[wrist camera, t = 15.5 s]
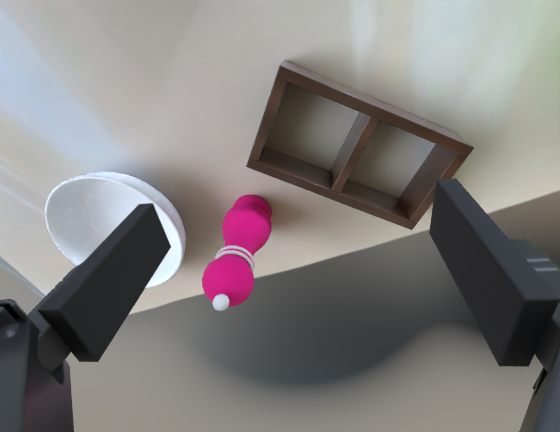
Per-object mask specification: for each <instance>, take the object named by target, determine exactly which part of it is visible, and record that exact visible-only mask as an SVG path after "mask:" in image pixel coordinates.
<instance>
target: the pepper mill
mask: <svg viewBox="0 0 560 432" xmlns="http://www.w3.org/2000/svg"><path fill="white" fill-rule="evenodd" d="M270 219H271V208H270V206H269V204H268V203H267V202H266V201H265V200H264V199H262V198H261V197H258V196H255V195H245V196H242V197H240V198H239V199H238V200H237V201H236V202H235V204H234V206H233V208H231V209H230V210H229V211H228V212H227V213H226V215H225V218H224V221H223V226H222V229H223V236H224V240H225V246H224V247H223V248H222V249H220V250H219V251H218V253H217V254H216V257H215V259H214V260H213V261H212V262H211V263H210V264H209V265H208V266H207V268H206V269H205V271H204V274H203V278H202V286H203V290H204V292H205V294H206V295H207V297H208V298H209V299H210V300H211V301H212V302H213V306H214V308H215V309H216V310H218V311H223V310H225V309H226V308H227V307H231V306H236V305H238V304H241V303H242V302H244V301H245V300H246V299H247V298H248V297H249V295H250V294H251V292H252V289H253V286H254V276H253V269H254V265H255V262H254V258H253V255H254V254H255V252H257V251H258V250H259V249H260V248H261V247H263V245H264V244H265V243H266V242H267V240H268V238H269V236H270V233H271V221H270Z"/></svg>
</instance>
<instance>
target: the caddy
mask: <svg viewBox="0 0 560 432" xmlns="http://www.w3.org/2000/svg"><path fill="white" fill-rule="evenodd" d="M287 82H290V83H292V84H295V85H297V86H299V87H302V88H304V89H306V90H309V91H311V92H314V93H316V94H318V95H321V96H323V97H326V98H328V99H330V100H333V101H335V102H338V103H340V104H342V105H345V106H347V107H349V108H352V109H354V110H357V111H359V112H360V113H359V115H358V117H357V119H356V121H355V123H354V125H353V126H352V128H351V130H350V132H349V134H348V136H347V138H346V140H345V142H344V144H343V146H342V148H341V150H340V152H339V154H338V156H337V158H336V160H335V162H334V164H333V166H332V168H331V170H330V171H327V170H324V169H322V168H319V167H317V166H314V165H312V164H309V163H307V162H304V161H301V160H299V159H296V158H294V157H291V156H289V155H286V154H284V153H281V152H279V151H276V150H273V149H271V148H268V147H266V146H265V144H266V141H267V139H268V136H269V133H270V130H271V127H272V124H273V122H274V119H275V116H276V113H277V110H278V108H279V105H280V102H281V99H282V96H283V94H284V91H285V88H286V85H287ZM379 120H381V121H383V122H385V123H388V124H390V125H393V126H395V127H397V128H400V129H402V130H404V131H407V132H409V133H412V134H414V135H416V136H419V137H421V138H424V139H426V140H428V141H431V142H433V143H436V145H435V146H434V148H433V149H432V151H431V152H430V154H429V155H428V157H427V158H426V160H425V161H424V163H423V164H422V166H421V167H420V169H419V170H418V172H417V173H416V174H415V176H414V177H413V179H412V180H411V182H410V183H409V185H408V186H407V188H406V189H405V191H404V192H403V194H402V195H401V197H400V198H399V199H398V198H396V197H393V196H391V195H388V194H386V193H383V192H380V191H378V190H375V189H373V188H370V187H368V186H365V185H363V184H360V183H358V182H355V181H352V180H350V179H348V177H349V176H350V174H351V172H352V170H353V168H354V166H355V165H356V163H357V161H358V159H359V157H360V155H361V154H362V152H363V150H364V148H365V146H366V144H367V143H368V141H369V139H370V137H371V135H372V134H373V132H374V130H375V128H376V126H377V124H378V123H379ZM473 149H474V147H473V146H472V145H470V144H469V143H468V142H466V141H465V140H464V139H463V138H461V137H460V136H459V135H457V134H456V133H455V132H453V131H451V130H448V129H446V128H444V127H441V126H439V125H437V124H434V123H432V122H430V121H427V120H425V119H423V118H420V117H418V116H416V115H413V114H411V113H408V112H406V111H404V110H401V109H399V108H397V107H394V106H392V105H390V104H387V103H385V102H383V101H380V100H378V99H376V98H373V97H371V96H369V95H366V94H364V93H362V92H359V91H357V90H354V89H352V88H350V87H347V86H345V85H343V84H340V83H338V82H336V81H333V80H331V79H329V78H326V77H324V76H322V75H319V74H317V73H315V72H312V71H310V70H307V69H305V68H303V67H300V66H298V65H296V64H293V63H291V62H289V61H286V60H285V61H284V62H283V63H282V64H281V65H280V67H279V70H278V73H277V76H276V79H275V82H274V85H273V88H272V91H271V94H270V97H269V100H268V103H267V106H266V109H265V112H264V115H263V118H262V121H261V124H260V127H259V130H258V133H257V136H256V139H255V142H254V145H253V148H252V151H251V154H250V157H249V160H248V163H247V166H246V167H249V168H251V169H254V170H256V171H259V172H262V173H264V174H267V175H269V176H272V177H275V178H277V179H280V180H282V181H285V182H288V183H290V184H293V185H296V186H298V187H301V188H303V189H306V190H309V191H311V192H314V193H316V194H319V195H322V196H324V197H327V198H330V199H332V200H335V201H337V202H340V203H343V204H345V205H348V206H350V207H353V208H356V209H358V210H361V211H364V212H366V213H369V214H371V215H374V216H377V217H379V218H382V219H384V220H387V221H390V222H392V223H395V224H397V225H400V226H403V227H405V228H408V229H411V230H412V229H413V228H414V227H415V225H416V224H417V223H418V221H419V220H420V219H421V217H422V216H423V215H424V213H425V212H426V211H427V209H428V208H429V207H430V205H431V204H432V203H433V202H434V195H435V188H436V180H443V179H451V178H452V176H453V175H454V174H455V172H456V171H457V170H458V168H459V167H460V166H461V165H462V163H463V162H464V161H465V159H466V158H467V156H468V155H469V154H470V153H471V151H472V150H473Z"/></svg>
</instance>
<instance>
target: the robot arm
mask: <svg viewBox="0 0 560 432" xmlns="http://www.w3.org/2000/svg"><path fill="white" fill-rule="evenodd" d="M430 235H431V237H432V239H433V241H434V242H435V244H436V246H437V248H438V250H439V252H440V254H441V256H442V258H443V260H444V262H445V263H446V265H447V267H448V269H449V271H450V273H451V275H452V277H453V279H454V281H455V283H456V285H457V286H458V288H459V290H460V292H461V294H462V296H463V298H464V300H465V302H466V304H467V306H468V307H469V309H470V311H471V313H472V315H473V317H474V319H475V321H476V323H477V325H478V327H479V329H480V330H481V332H482V334H483V336H484V338H485V340H486V342H487V344H488V346H489V348H490V350H491V351H492V353H493V355H494V357H495V359H496V361H497V363H498V364H499V366H529V364H530V362H531V360H532V358H533V356H534V354H535V355H536V356H537V358H538V359H539V361H540V362H541V364H542V365H543V369H542V371H541V373H540V375H539V377H538V379H537V381H536V383H535V385H534V387H533V389H535V390H534V393H533V395H532V398H531V401H530V404H529V407H528V409H527V412H526V415H525V417H524V420H523V423H522V426H521V429H520V431H519V432H560V268H559V267H558V266H557V265H556V264H555V263H554V262H553V261H551V259H550V258H549V257H548V256H547V255H546V254H545V253H544V251H542V249H541V248H539V247H538V246H536V245H534V244H532V243H530V242H529V241H527V240H525V239H508V238H507V237H506V236H505V235H504V233H503V232H502V231H501V230H500V229H499V227H498V226H497V225H496V224H495V223H494V222H493V221H492V220H491V218H490V217H489V216H488V215H487V214H486V213H485V211H484V210H483V209H482V208H481V207H480V206H479V204H478V203H477V202H476V201H475V200H474V199H473V198H472V196H471V195H470V194H469V193H468V192H467V191H466V189H465V188H464V187H463V186H462V185H461V184H460V183H459V181H458V180H457V179H443V180H436V188H435V195H434V202H433V210H432V217H431V224H430ZM170 248H171V245H170V243H169V240H168V238H167V236H166V233H165V231H164V228H163V226H162V224H161V221H160V219H159V216H158V214H157V212H156V209H155V207H154V204H153V203H146V204H138V205H137V207H136V208H135V209H134V210H133V211H132V212H131V213H130V214H129V215H128V216H127V217H126V218H125V219H124V220H123V221H122V222H121V223H120V224H119V225H118V226H117V227H116V228H115V229H114V230H113V232H112V233H111V234H110V235H109V236H108V237H107V238H106V239H105V240H104V241H103V242H102V243H101V244H100V245H99V246H98V247H97V248H96V249H95V250H94V251H93V252H92V253H91V254H90V255H89V257H88V258H87V259H86V260H85V261H84V262H82V263H81V264H79V265H78V266H77V267H75V268H74V269H72V270H71V271H70V272H69V273H68V274H67V275H66V276H65V277H64V278H63V281H60V282H59V283H58V284H57V285H56V286H55V289H53V290H52V291H51V292H50V293H49V294H48V295H47V296H46V297H45V298H44V299H43V300H42V301H41V302H40V303H39V304H38V305H37V306H36V307H35V308H34V309H33V310H32V311H31V312H30V313H29V314H28V315H26V313H25V312H24V311H23V310H22V309H21V308H20V306H19V305H18V304H17V303H16V302H15V301H14V300H12V299H5V300H0V432H74V426H73V412H72V397H71V382H70V367H69V365H68V363H67V361H66V360H65V359H66V358H67V356H68V355H69V354H70V352H72V353H73V354H74V356H75V357H76V358H77V359H78V360H79V362H85V361H86V362H98V361H99V359H100V358H101V356H102V355H103V353H104V352H105V350H106V348H107V347H108V345H109V344H110V342H111V341H112V339H113V338H114V336H115V334H116V333H117V331H118V330H119V328H120V327H121V325H122V323H123V322H124V320H125V319H126V317H127V316H128V314H129V312H130V311H131V309H132V308H133V306H134V305H135V303H136V301H137V300H138V298H139V297H140V295H141V294H142V292H143V290H144V289H145V287H146V286H147V284H148V283H149V281H150V280H151V278H152V276H153V275H154V273H155V272H156V270H157V269H158V267H159V265H160V264H161V262H162V261H163V259H164V258H165V256H166V254H167V253H168V251H169V250H170Z"/></svg>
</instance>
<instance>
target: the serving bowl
mask: <svg viewBox="0 0 560 432" xmlns="http://www.w3.org/2000/svg"><path fill="white" fill-rule="evenodd" d="M146 203H153V204H154V207H155V209H156V212H157V214H158V216H159V219H160V221H161V224H162V226H163V228H164V231H165V233H166V236H167V238H168V240H169V243H170V245H171V248H170V250H169V251H168V253H167V254H166V256H165V258H164V259H163V261H162V262H161V264H160V265H159V267H158V269H157V270H156V272H155V273H154V275H153V276H152V278H151V280H150V281H149V283H148V284H147V286H146V287H145V288H150V287H154V286H158V285H160V284H163V283H165V282H166V281H168V280H169V279H171V278H172V277H173V276H174V275H175V274H176V273H177V271H178V270H179V268H180V266H181V263H182V260H183V257H184V253H185V247H186V235H185V230H184V226H183V223H182V220H181V218H180V216H179V214H178V212H177V211H176V209H175V208H174V206H173V205H172V204H171V202H170V201H169V200H168V199H167V198H166V197H165V196H164V195H163V194H162V193H160V192H159V191H158V190H157V189H155V188H154V187H152V186H151V185H149V184H147V183H146V182H144V181H142V180H140V179H137V178H135V177H132V176H129V175H125V174H121V173H115V172H92V173H86V174H82V175H79V176H76V177H73V178H71V179H68V180H66V181H64V182H62V183H61V184H59V185H58V186H57V187H56V188H55V189H54V190H53V191H52V192H51V193H50V195H49V197H48V199H47V202H46V206H45V219H46V224H47V227H48V230H49V233H50V235H51V237H52V239H53V240H54V242H55V244H56V245H57V247H58V248H59V249H60V251H61V252H62V253H63V254H64V255H65V256H66V257H67V258H68V259H69V260H70V261H71V262H72V263H73V264H74V265H76V266H78V265H79V264H81V263H82V262H84V261H85V260H86V259H87V258H88V257H89V255H90V254H91V253H92V252H93V251H94V250H95V249H96V248H97V247H98V246H99V245H100V244H101V243H102V242H103V241H104V240H105V239H106V238H107V237H108V236H109V235H110V234H111V233H112V232H113V230H114V229H115V228H116V227H117V226H118V225H119V224H120V223H121V222H122V221H123V220H124V219H125V218H126V217H127V216H128V215H129V214H130V213H131V212H132V211H133V210H134V209H135V208H136V207H137V205H138V204H146Z"/></svg>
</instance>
